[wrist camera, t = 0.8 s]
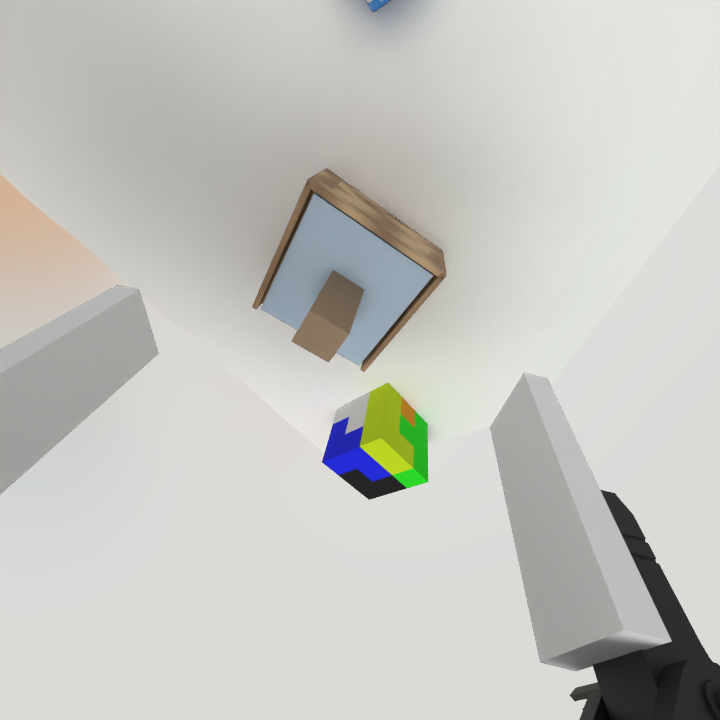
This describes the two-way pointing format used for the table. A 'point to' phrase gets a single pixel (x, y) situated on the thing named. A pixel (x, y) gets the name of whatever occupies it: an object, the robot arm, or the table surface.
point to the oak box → (377, 223)
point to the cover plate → (354, 263)
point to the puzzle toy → (378, 444)
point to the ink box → (376, 4)
